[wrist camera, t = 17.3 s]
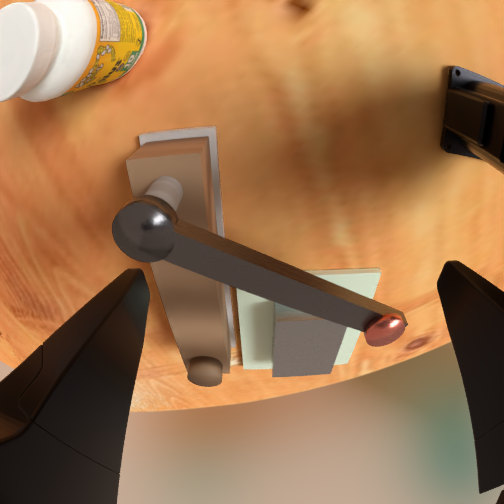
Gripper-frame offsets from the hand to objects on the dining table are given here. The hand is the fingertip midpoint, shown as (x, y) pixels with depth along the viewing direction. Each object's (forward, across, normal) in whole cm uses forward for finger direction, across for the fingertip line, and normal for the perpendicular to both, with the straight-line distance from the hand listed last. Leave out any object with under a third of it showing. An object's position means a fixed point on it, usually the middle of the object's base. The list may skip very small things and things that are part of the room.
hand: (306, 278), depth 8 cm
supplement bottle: (+12, +10, -8) cm, 18 cm away
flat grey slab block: (+11, -3, +17) cm, 21 cm away
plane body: (+12, +6, +9) cm, 16 cm away
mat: (+12, -3, +17) cm, 21 cm away
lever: (+5, 0, +4) cm, 6 cm away
